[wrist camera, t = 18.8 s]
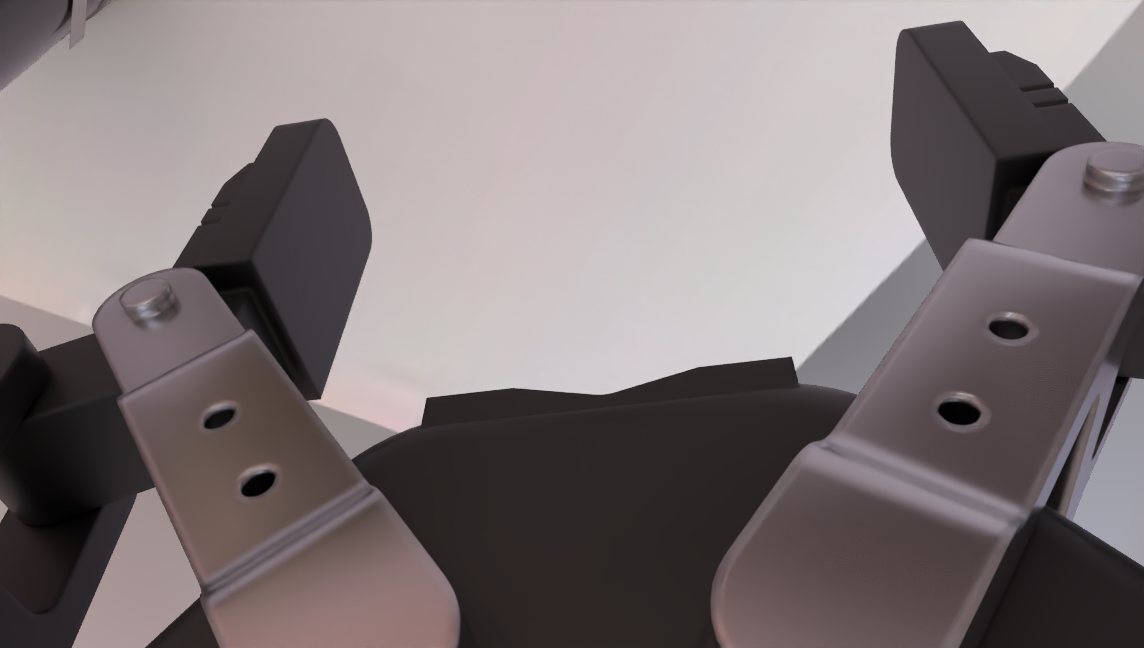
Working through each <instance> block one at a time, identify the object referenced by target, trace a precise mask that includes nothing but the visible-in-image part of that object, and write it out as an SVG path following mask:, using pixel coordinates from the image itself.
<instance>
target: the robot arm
mask: <svg viewBox="0 0 1144 648" xmlns="http://www.w3.org/2000/svg"><path fill="white" fill-rule="evenodd" d="M110 1H111V0H0V92H1V91H2V90H3V89H4V88H5V87H6V86H8V85H9V84H10V83H11V82H12V81H13V80H15V79H16V78H17V77H18V76H19V75H20V74H22V73H23V72H24V71H25V70H26V69H27V68H29V67H30V66H31V65H32V64H33V63H34V62H36V61H37V60H38V59H39V58H40V57H41V56H43V55H44V54H45V53H46V52H47V51H48V50H50V49H51V48H52V47H53V46H54V45H55V44H57V43H58V42H59V41H61V40H62V39H63V38H64V37H65V36H66V35H68V34H69V33H70V32H71V34H70V47H69V50H70V49H71V48H72V47H73V46H74V45H75V44H76V43H77V42H79V41H80V40H81V39H82V38H83V37H84V28H85V21H86V20H88V19H89V18H91V17H92V16H94V15H95V14H96V13H97V12H99V11H100V10H101V9H102V8H103V7H104V6H106V5H107V4H108V3H109V2H110ZM891 157H892V163H893V168H894V172H895V176H896V179H897V181H898V183H899V185H900V187H901V189H902V191H903V193H904V195H905V197H906V199H907V201H908V203H909V205H910V207H911V208H912V210H913V212H914V214H915V216H916V218H917V220H918V222H919V224H920V226H921V228H922V230H923V232H924V234H925V236H926V238H927V240H928V242H929V244H930V246H931V248H932V250H933V252H934V254H935V256H936V258H937V260H938V262H939V264H940V266H941V267H942V270H943V274H942V275H941V277H940V278H939V279H938V281H937V282H936V284H935V285H934V287H933V288H932V289H931V291H930V292H929V294H928V295H927V297H926V298H925V300H924V301H923V302H922V304H921V305H920V307H919V308H918V310H917V311H916V312H915V314H914V315H913V317H912V318H911V320H910V321H909V323H908V324H907V325H906V327H905V328H904V330H903V331H902V333H901V334H900V335H899V337H898V338H897V340H896V341H895V342H894V344H893V345H892V347H891V348H890V350H889V351H888V353H887V354H886V355H885V357H884V358H883V360H882V361H881V363H880V364H879V365H878V367H877V368H876V370H875V371H874V373H873V374H872V375H871V377H870V378H869V380H868V381H867V383H866V384H865V385H864V387H863V388H862V390H861V391H860V392H859V394H858V395H857V394H853V393H849V392H846V391H842V390H838V389H834V388H828V387H823V386H817V385H809V384H799V383H798V379H797V376H796V371H795V368H794V364H793V360H792V357H785V358H777V359H768V360H759V361H750V362H741V363H732V364H723V365H714V366H706V367H698V368H695V369H691V370H688V371H685V372H681V373H678V374H675V375H671V376H668V377H665V378H661V379H658V380H655V381H651V382H648V383H645V384H642V385H638V386H635V387H632V388H628V389H625V390H622V391H618V392H615V393H611V394H605V395H591V394H579V393H566V392H554V391H541V390H529V389H517V388H510V389H501V390H492V391H484V392H475V393H466V394H457V395H448V396H439V397H430V398H427V399H426V404H425V409H424V414H423V419H422V424H421V425H420V426H417V427H414V428H411V429H408V430H406V431H403V432H401V433H399V434H396V435H394V436H391V437H389V438H388V439H386V440H384V441H382V442H380V443H378V444H376V445H374V446H372V447H370V448H369V449H367V450H366V451H364V452H362V453H361V454H359V455H358V456H356V457H355V458H353V459H352V460H351V459H350V458H349V457H348V456H347V454H346V453H345V451H344V450H343V449H342V447H341V446H340V445H339V443H338V442H337V441H336V440H335V438H334V437H333V435H332V434H331V433H330V431H329V430H328V429H327V427H326V426H325V425H324V424H323V422H322V421H321V419H320V418H319V417H318V416H317V414H316V413H315V411H314V410H313V409H312V407H311V406H310V405H309V403H308V402H307V401H308V400H317V399H321V396H322V393H323V390H324V387H325V384H326V381H327V378H328V375H329V372H330V369H331V366H332V363H333V360H334V358H335V355H336V352H337V349H338V346H339V343H340V340H341V337H342V334H343V331H344V328H345V325H346V322H347V319H348V316H349V313H350V310H351V307H352V304H353V301H354V298H355V295H356V292H357V289H358V286H359V283H360V280H361V277H362V274H363V271H364V268H365V265H366V262H367V259H368V256H369V253H370V250H371V244H372V231H371V223H370V218H369V214H368V210H367V208H366V205H365V202H364V200H363V197H362V194H361V192H360V189H359V186H358V184H357V181H356V178H355V176H354V173H353V171H352V168H351V165H350V163H349V160H348V157H347V155H346V152H345V149H344V147H343V144H342V142H341V139H340V136H339V134H338V132H337V130H336V128H335V126H334V125H333V123H332V122H331V121H330V120H328V119H326V118H324V119H318V120H311V121H305V122H298V123H292V124H285V125H279V126H276V127H275V128H274V129H273V131H272V132H271V134H270V136H269V137H268V139H267V141H266V143H265V144H264V146H263V148H262V149H261V151H260V153H259V154H258V156H257V158H256V160H255V161H254V163H249V164H247V165H246V166H245V167H244V168H243V169H241V170H240V171H239V172H238V173H237V174H235V175H234V176H233V177H232V178H231V179H229V180H228V181H227V182H226V183H225V184H224V185H223V186H222V188H221V190H220V191H219V193H218V195H217V196H216V198H215V199H214V201H213V203H212V204H211V205H212V208H211V209H208V211H207V212H206V214H205V216H204V217H203V219H202V221H201V224H202V226H198V227H197V229H196V230H195V232H194V234H193V235H192V237H191V238H190V240H189V242H188V243H187V245H186V247H185V248H184V250H183V251H182V253H181V255H180V256H179V258H178V260H177V261H176V263H175V264H174V266H173V268H171V269H165V270H161V271H157V272H154V273H151V274H148V275H145V276H143V277H140V278H138V279H136V280H134V281H132V282H130V283H128V284H127V285H125V286H123V287H122V288H120V289H119V290H117V291H116V292H115V293H113V294H112V295H111V296H110V297H109V298H108V299H106V300H105V301H104V302H103V304H102V305H101V306H100V307H99V308H98V310H97V312H96V313H95V315H94V318H93V321H92V328H93V331H94V333H93V334H91V335H87V336H84V337H81V338H79V339H75V340H72V341H69V342H66V343H63V344H60V345H57V346H54V347H51V348H48V349H45V350H42V351H39V352H38V351H37V349H36V348H35V347H34V346H33V344H32V343H31V342H30V340H29V339H28V338H27V336H26V335H25V334H24V332H23V331H22V330H21V329H20V328H19V327H17V326H15V325H11V324H0V500H1V501H2V502H3V503H4V504H5V505H6V506H7V507H8V508H9V509H8V510H7V513H6V514H5V516H4V518H3V519H2V521H1V523H0V648H72V645H73V643H74V641H75V639H76V636H77V634H78V632H79V629H80V627H81V625H82V622H83V620H84V618H85V615H86V613H87V611H88V608H89V606H90V604H91V602H92V599H93V597H94V595H95V592H96V590H97V588H98V585H99V583H100V581H101V578H102V576H103V574H104V571H105V569H106V567H107V564H108V562H109V560H110V557H111V555H112V553H113V551H114V548H115V546H116V544H117V541H118V539H119V537H120V535H121V532H122V530H123V528H124V525H125V523H126V521H127V518H128V516H129V514H130V511H131V509H132V507H133V504H134V502H135V499H136V496H137V493H140V492H143V491H145V490H148V489H151V488H154V487H156V490H157V492H158V494H159V496H160V498H161V501H162V503H163V505H164V507H165V509H166V512H167V514H168V516H169V518H170V520H171V523H172V525H173V527H174V529H175V531H176V534H177V536H178V538H179V540H180V542H181V545H182V547H183V549H184V551H185V554H186V556H187V558H188V560H189V562H190V565H191V567H192V569H193V571H194V573H195V576H196V578H197V580H198V582H199V585H200V588H201V592H202V593H201V595H200V597H199V598H198V599H197V600H196V601H195V602H194V603H193V604H192V605H191V606H190V607H189V608H188V609H186V610H185V611H184V612H183V613H182V614H181V615H180V616H179V617H178V618H177V619H176V620H175V621H173V622H172V623H171V624H170V625H169V626H168V627H167V628H166V629H165V630H164V631H163V632H162V633H160V634H159V635H158V636H157V637H156V638H155V639H154V640H153V641H152V642H151V643H150V644H149V645H148V646H146V647H145V648H1144V567H1143V566H1142V565H1140V564H1139V563H1137V562H1135V561H1134V560H1132V559H1131V558H1129V557H1127V556H1126V555H1124V554H1123V553H1121V552H1120V551H1118V550H1116V549H1115V548H1113V547H1111V546H1110V545H1108V544H1107V543H1105V542H1104V541H1102V540H1101V539H1099V538H1098V537H1096V536H1094V535H1093V534H1091V533H1090V532H1088V531H1087V530H1085V529H1083V528H1082V527H1080V526H1079V525H1077V524H1075V523H1074V522H1072V521H1073V518H1074V515H1075V512H1076V510H1077V507H1078V504H1079V502H1080V499H1081V497H1082V494H1083V491H1084V489H1085V487H1086V484H1087V482H1088V480H1089V478H1090V475H1091V473H1092V471H1093V468H1094V466H1095V464H1096V461H1097V459H1098V457H1099V455H1100V453H1101V450H1102V448H1103V446H1104V444H1105V441H1106V439H1107V437H1108V434H1109V432H1110V430H1111V428H1112V425H1113V423H1114V421H1115V419H1116V416H1117V414H1118V412H1119V409H1120V407H1121V405H1122V403H1123V400H1124V398H1125V396H1126V394H1127V391H1128V389H1129V387H1130V384H1131V381H1132V378H1138V379H1144V146H1142V145H1137V144H1131V143H1123V142H1107V141H1106V140H1105V139H1104V138H1103V137H1102V136H1101V134H1100V133H1099V132H1098V131H1097V130H1096V129H1095V128H1094V127H1093V126H1092V125H1091V124H1090V122H1089V121H1088V120H1087V119H1086V118H1085V117H1084V116H1083V115H1082V114H1081V113H1080V112H1079V111H1078V109H1077V108H1076V107H1075V106H1074V105H1073V104H1072V103H1069V104H1068V98H1067V97H1066V96H1065V95H1064V94H1063V93H1062V92H1061V91H1060V90H1059V89H1058V88H1057V87H1056V88H1054V83H1053V82H1052V81H1051V80H1050V79H1049V78H1048V77H1047V76H1046V75H1045V73H1044V72H1043V71H1042V70H1041V69H1040V68H1039V67H1038V66H1037V65H1036V64H1034V63H1032V62H1029V61H1027V60H1025V59H1022V58H1020V57H1018V56H1016V55H1013V54H1011V53H1009V52H1007V51H999V52H992V53H989V52H988V51H987V49H986V48H985V47H984V46H983V45H982V43H981V42H980V41H979V40H978V39H977V38H976V36H975V35H974V34H973V33H972V32H971V30H970V29H969V28H968V27H967V26H966V24H965V23H964V22H963V21H954V22H947V23H941V24H934V25H928V26H921V27H915V28H909V29H903V30H902V31H901V32H900V34H899V37H898V41H897V47H896V58H895V74H894V90H893V105H892V121H891Z"/></svg>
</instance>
